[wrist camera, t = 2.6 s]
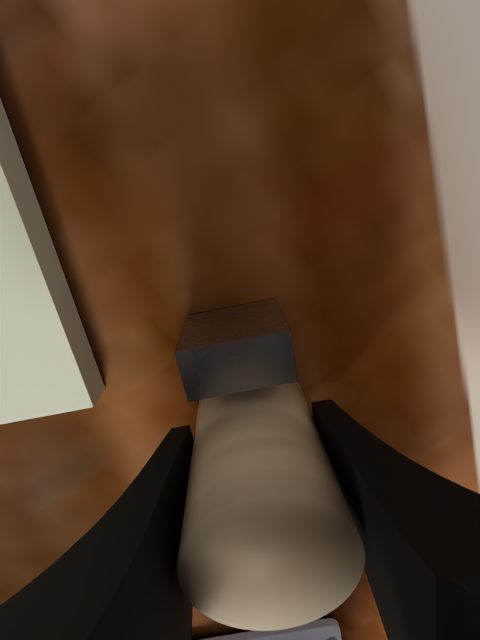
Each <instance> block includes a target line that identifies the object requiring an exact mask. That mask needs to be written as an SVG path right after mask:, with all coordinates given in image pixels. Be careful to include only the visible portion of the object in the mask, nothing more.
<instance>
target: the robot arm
mask: <svg viewBox="0 0 480 640" xmlns="http://www.w3.org/2000/svg"><path fill="white" fill-rule="evenodd" d="M312 410H313V417H314V422H315V424H316V427H317V429H318V432H319V434H320V437H321V439H322V442H323V444H324V447H325V449H326V452H327V454H328V457H329V459H330V462H331V464H332V467H333V469H334V472H335V474H336V477H337V480H338V482H339V485H340V487H341V490H342V492H343V495H344V497H345V500H346V502H347V505H348V507H349V510H350V512H351V515H352V517H353V520H354V522H355V525H356V527H357V530H358V532H359V535H360V537H361V540H362V542H363V546H364V551H365V565H364V569H365V572H366V575H367V578H368V581H369V584H370V587H371V590H372V593H373V596H374V598H375V601H376V604H377V607H378V610H379V613H380V616H381V620H382V623H383V626H384V629H385V632H386V635H387V638H388V640H480V494H478V493H476V492H474V491H471V490H469V489H467V488H465V487H463V486H460V485H458V484H456V483H454V482H452V481H450V480H448V479H446V478H444V477H442V476H440V475H438V474H436V473H434V472H432V471H430V470H428V469H426V468H425V467H423V466H421V465H419V464H418V463H416V462H414V461H412V460H410V459H409V458H407V457H405V456H404V455H402V454H401V453H399V452H398V451H396V450H395V449H393V448H392V447H390V446H389V445H387V444H386V443H384V442H383V441H382V440H380V439H379V438H377V437H376V436H375V435H373V434H372V433H371V432H369V431H368V430H367V429H366V428H364V427H363V426H362V425H360V424H359V423H358V422H357V421H355V420H354V419H353V418H352V417H351V416H349V415H348V414H347V413H346V412H345V411H344V410H342V409H341V408H340V407H339V406H338V405H337V404H336V403H335V402H333V401H332V400H331V399H328V400H323V401H318V402H312ZM193 442H194V440H193V436H192V432H191V429H190V425H188V426H182V427H177V428H171V430H170V431H169V432H168V434H167V435H166V437H165V438H164V439H163V441H162V442H161V444H160V445H159V447H158V448H157V449H156V451H155V452H154V454H153V455H152V457H151V458H150V459H149V461H148V462H147V463H146V465H145V466H144V467H143V469H142V470H141V472H140V473H139V474H138V476H137V477H136V478H135V479H134V481H133V482H132V483H131V484H130V486H129V487H128V488H127V489H126V491H125V492H124V493H123V494H122V495H121V497H120V498H119V499H118V500H117V501H116V503H115V504H114V505H113V506H112V507H111V508H110V509H109V510H108V511H107V513H106V514H105V515H104V516H103V517H102V518H101V519H100V520H99V521H98V522H97V523H96V524H95V525H94V526H93V527H92V528H91V529H90V530H89V531H88V532H87V533H86V534H85V535H84V536H83V537H82V538H81V539H79V540H78V541H77V542H76V543H75V544H74V545H73V546H72V547H71V548H70V549H69V550H68V551H67V552H65V553H64V554H63V555H62V556H61V557H60V558H59V559H58V560H57V561H55V562H54V563H53V564H52V565H51V566H50V567H48V568H47V569H46V570H45V571H44V572H42V573H41V574H40V575H39V576H38V577H36V578H35V579H34V580H33V581H31V582H30V583H29V584H28V585H26V586H25V587H24V588H23V589H21V590H20V591H19V592H17V593H16V594H15V595H14V596H12V597H11V598H10V599H8V600H7V601H6V602H4V603H3V604H1V605H0V640H191V639H192V608H193V605H192V604H191V603H190V602H189V601H188V599H187V598H186V596H185V595H184V593H183V591H182V589H181V587H180V584H179V580H178V576H177V563H178V555H179V548H180V540H181V532H182V525H183V517H184V510H185V502H186V495H187V487H188V480H189V472H190V465H191V457H192V450H193ZM200 640H342V639H341V632H340V628H339V624H338V622H337V621H336V620H335V619H332V618H325V619H319V620H315V621H312V622H310V623H307V624H304V625H301V626H297V627H293V628H289V629H283V630H275V631H248V632H242V633H236V634H230V635H224V636H218V637H212V638H206V639H200Z"/></svg>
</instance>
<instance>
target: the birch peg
mask: <svg viewBox="0 0 480 640" xmlns="http://www.w3.org/2000/svg"><path fill="white" fill-rule="evenodd" d="M364 565H365V551H364V546H363V542H362V540H361V537H360V535H359V532H358V530H357V527H356V525H355V522H354V520H353V517H352V515H351V512H350V510H349V507H348V505H347V502H346V500H345V497H344V495H343V492H342V490H341V487H340V485H339V482H338V480H337V477H336V474H335V472H334V469H333V467H332V464H331V462H330V459H329V457H328V454H327V452H326V449H325V447H324V444H323V442H322V439H321V437H320V434H319V432H318V429H317V427H316V424H315V422H314V419H313V417H312V414H311V412H310V409H309V407H308V404H307V401H306V399H305V396H304V394H303V391H302V389H301V387H300V385H299V383H298V382H293V383H288V384H283V385H277V386H272V387H266V388H261V389H256V390H250V391H245V392H240V393H234V394H229V395H223V396H218V397H213V398H207V399H202V400H199V404H198V412H197V419H196V427H195V435H194V442H193V450H192V457H191V465H190V472H189V480H188V487H187V495H186V502H185V510H184V517H183V525H182V532H181V540H180V548H179V555H178V563H177V576H178V580H179V584H180V587H181V589H182V591H183V593H184V595H185V596H186V598H187V599H188V601H189V602H190V603H191V604H192V605H193V606H194V607H195V608H196V609H197V610H199V611H200V612H201V613H202V614H204V615H206V616H207V617H209V618H210V619H212V620H215V621H217V622H219V623H221V624H224V625H227V626H230V627H234V628H239V629H244V630H252V631H275V630H283V629H289V628H293V627H297V626H301V625H304V624H307V623H310V622H312V621H315V620H317V619H319V618H321V617H323V616H325V615H327V614H328V613H330V612H331V611H333V610H334V609H336V608H337V607H338V606H339V605H341V604H342V603H343V602H344V601H345V600H346V599H347V598H348V597H349V596H350V595H351V593H352V592H353V591H354V589H355V588H356V586H357V585H358V583H359V581H360V579H361V576H362V573H363V571H364Z"/></svg>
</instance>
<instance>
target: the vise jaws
mask: <svg viewBox="0 0 480 640" xmlns="http://www.w3.org/2000/svg"><path fill="white" fill-rule="evenodd" d="M175 355H176V359H177V362H178V366H179V370H180V373H181V377H182V381H183V384H184V388H185V391H186V395H187V399H188V402H191V401H197V400H202V399H207V398H213V397H218V396H223V395H229V394H234V393H240V392H245V391H250V390H256V389H261V388H266V387H272V386H277V385H283V384H288V383H293V382H298V378H297V371H296V364H295V358H294V351H293V345H292V338H291V331H290V329H289V326H288V324H287V322H286V320H285V318H284V316H283V314H282V312H281V310H280V308H279V306H278V304H277V302H276V300H275V298H274V299H269V300H264V301H259V302H254V303H248V304H243V305H238V306H233V307H228V308H222V309H217V310H212V311H207V312H202V313H196V314H191V315H187V317H186V320H185V323H184V326H183V329H182V332H181V335H180V338H179V341H178V344H177V347H176V350H175Z"/></svg>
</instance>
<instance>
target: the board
mask: <svg viewBox="0 0 480 640" xmlns="http://www.w3.org/2000/svg"><path fill="white" fill-rule="evenodd" d="M104 389H105V386H104V383H103V381H102V378H101V375H100V372H99V369H98V367H97V364H96V361H95V358H94V356H93V353H92V350H91V347H90V345H89V342H88V339H87V336H86V334H85V331H84V328H83V325H82V322H81V320H80V317H79V314H78V311H77V309H76V306H75V303H74V300H73V298H72V295H71V292H70V289H69V286H68V284H67V281H66V278H65V275H64V273H63V270H62V267H61V264H60V262H59V259H58V256H57V253H56V251H55V248H54V245H53V242H52V239H51V237H50V234H49V231H48V228H47V226H46V223H45V220H44V217H43V215H42V212H41V209H40V206H39V203H38V201H37V198H36V195H35V192H34V190H33V187H32V184H31V181H30V179H29V176H28V173H27V170H26V168H25V165H24V162H23V159H22V156H21V154H20V151H19V148H18V145H17V143H16V140H15V137H14V134H13V132H12V129H11V126H10V123H9V120H8V118H7V115H6V112H5V109H4V107H3V104H2V101H1V98H0V424H5V423H11V422H16V421H21V420H27V419H32V418H37V417H43V416H48V415H53V414H59V413H64V412H69V411H75V410H80V409H85V408H91V407H94V405H95V404H96V402H97V400H98V399H99V397H100V396H101V394H102V393H103V391H104Z"/></svg>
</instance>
